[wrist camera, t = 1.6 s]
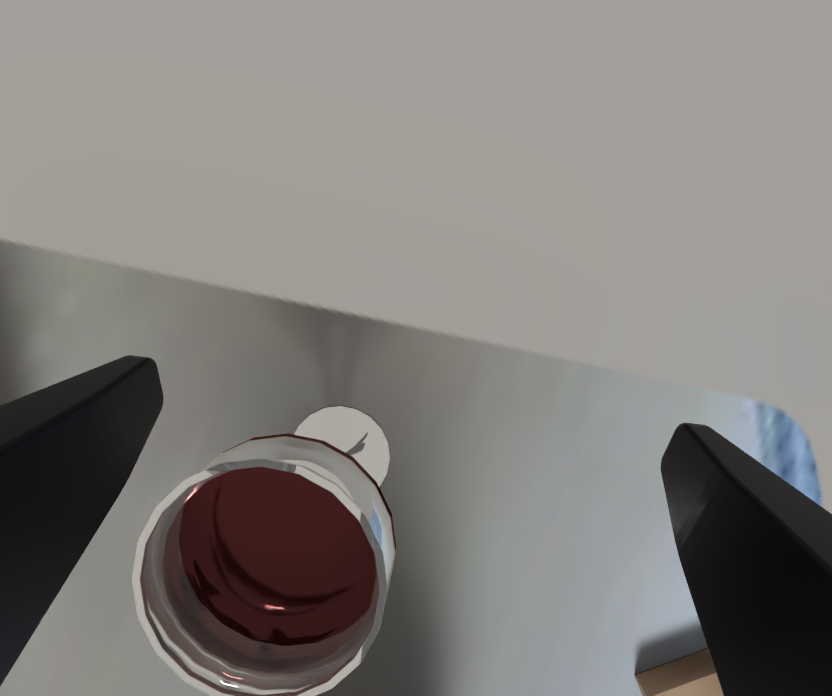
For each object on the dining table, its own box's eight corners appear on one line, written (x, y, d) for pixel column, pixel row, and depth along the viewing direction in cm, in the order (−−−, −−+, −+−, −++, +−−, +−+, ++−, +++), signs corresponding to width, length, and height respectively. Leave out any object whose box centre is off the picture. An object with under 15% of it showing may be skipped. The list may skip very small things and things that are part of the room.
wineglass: (243, 467, 25) (78, 604, 13) (326, 359, 25) (232, 401, 13) (351, 550, 26) (284, 760, 14) (436, 445, 25) (443, 565, 13)
